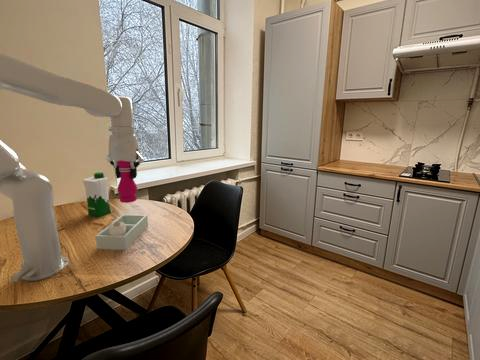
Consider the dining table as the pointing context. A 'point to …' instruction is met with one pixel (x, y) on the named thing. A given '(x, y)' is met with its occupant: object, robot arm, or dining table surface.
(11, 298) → the dining table surface
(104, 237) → the grey divided tray
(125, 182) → the pepper mill
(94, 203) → the milk carton
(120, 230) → the salt cellar
